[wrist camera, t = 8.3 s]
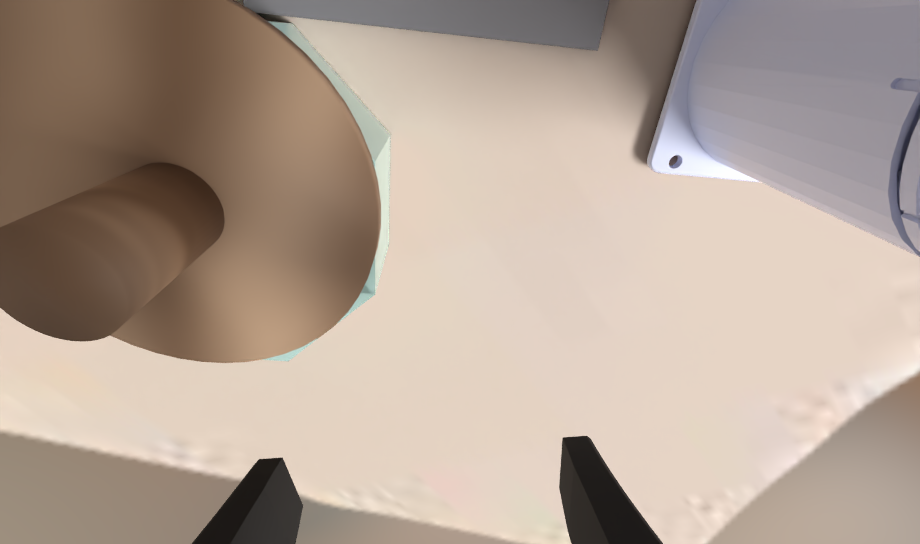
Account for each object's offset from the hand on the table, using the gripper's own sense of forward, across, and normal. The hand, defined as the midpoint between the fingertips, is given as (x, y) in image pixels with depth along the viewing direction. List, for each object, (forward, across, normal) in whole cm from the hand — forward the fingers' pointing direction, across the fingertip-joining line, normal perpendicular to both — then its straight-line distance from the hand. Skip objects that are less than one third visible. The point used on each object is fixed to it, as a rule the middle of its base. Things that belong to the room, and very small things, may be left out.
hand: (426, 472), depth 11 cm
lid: (+6, +7, -6) cm, 11 cm away
